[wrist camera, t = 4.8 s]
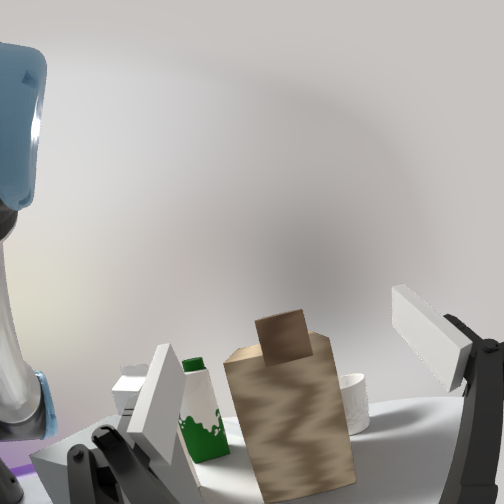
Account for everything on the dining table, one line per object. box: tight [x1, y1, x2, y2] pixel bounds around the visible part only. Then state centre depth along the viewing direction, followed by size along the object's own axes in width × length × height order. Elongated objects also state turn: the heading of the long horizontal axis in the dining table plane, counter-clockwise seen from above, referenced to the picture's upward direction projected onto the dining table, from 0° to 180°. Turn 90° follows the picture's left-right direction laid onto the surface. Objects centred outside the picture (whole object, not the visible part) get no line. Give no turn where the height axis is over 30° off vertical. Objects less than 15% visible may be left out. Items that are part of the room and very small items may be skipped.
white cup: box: [338, 374, 370, 435], centre depth 43 cm, size 8×8×10 cm
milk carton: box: [178, 357, 230, 463], centre depth 47 cm, size 9×9×20 cm
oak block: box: [223, 331, 356, 504], centre depth 34 cm, size 12×14×21 cm
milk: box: [112, 364, 201, 488], centre depth 32 cm, size 6×6×22 cm
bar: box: [255, 309, 313, 367], centre depth 32 cm, size 4×20×4 cm, turn 176°
